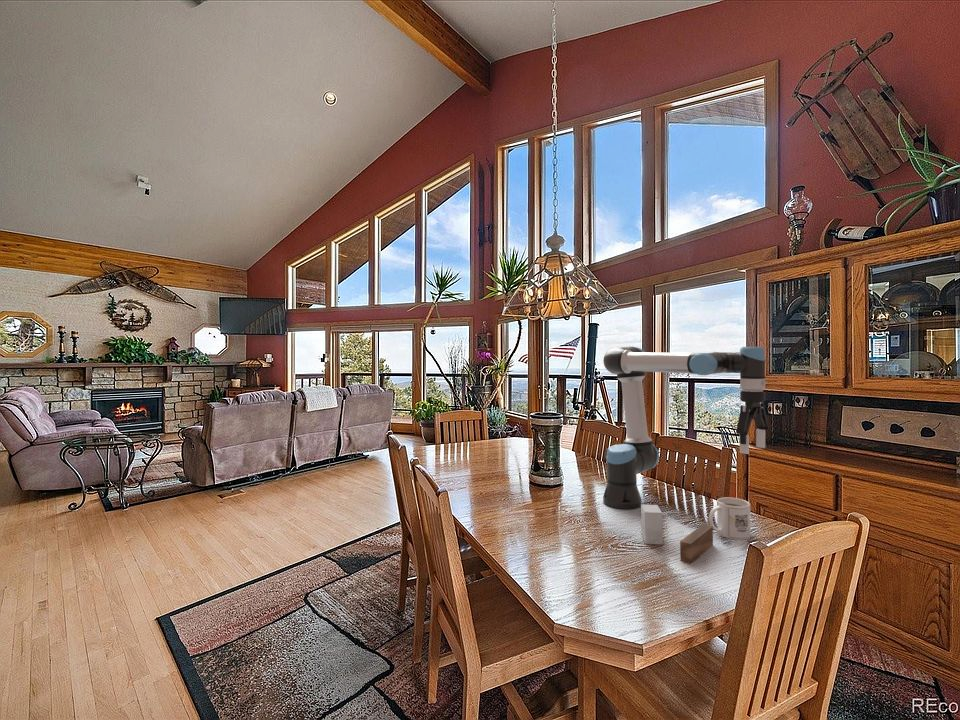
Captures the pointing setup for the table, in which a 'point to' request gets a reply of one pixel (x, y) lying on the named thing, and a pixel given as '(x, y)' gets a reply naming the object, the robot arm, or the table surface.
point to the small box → (651, 524)
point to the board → (696, 543)
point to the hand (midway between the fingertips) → (752, 450)
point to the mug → (732, 518)
